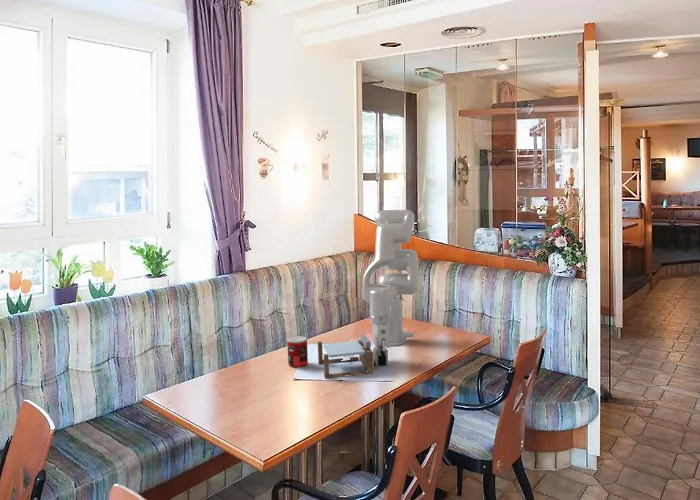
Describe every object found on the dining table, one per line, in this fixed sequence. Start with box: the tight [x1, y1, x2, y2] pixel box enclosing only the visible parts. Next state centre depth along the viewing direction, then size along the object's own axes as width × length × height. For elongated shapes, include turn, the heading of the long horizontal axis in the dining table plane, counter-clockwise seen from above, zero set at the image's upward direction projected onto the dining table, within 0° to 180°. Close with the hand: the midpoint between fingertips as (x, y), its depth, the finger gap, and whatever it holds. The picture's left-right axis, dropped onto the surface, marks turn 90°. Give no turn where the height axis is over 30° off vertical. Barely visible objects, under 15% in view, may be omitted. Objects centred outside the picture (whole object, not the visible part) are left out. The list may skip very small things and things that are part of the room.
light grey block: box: [372, 346, 389, 366], centre depth 236 cm, size 5×5×6 cm
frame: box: [317, 341, 374, 379], centre depth 231 cm, size 19×18×9 cm
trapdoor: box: [323, 334, 372, 359], centre depth 231 cm, size 17×14×4 cm
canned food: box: [286, 335, 309, 369], centre depth 237 cm, size 8×8×11 cm
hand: (380, 361), depth 237 cm, fingers open, 5 cm apart
